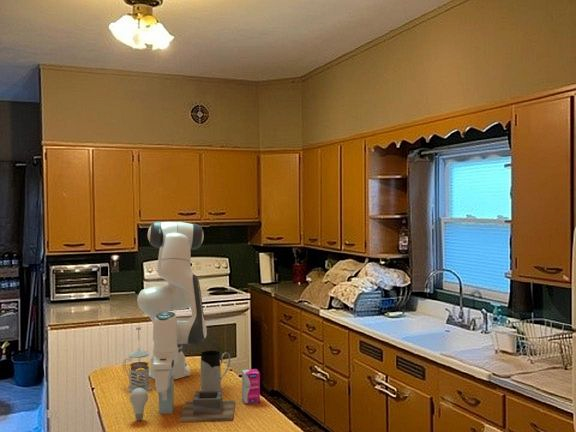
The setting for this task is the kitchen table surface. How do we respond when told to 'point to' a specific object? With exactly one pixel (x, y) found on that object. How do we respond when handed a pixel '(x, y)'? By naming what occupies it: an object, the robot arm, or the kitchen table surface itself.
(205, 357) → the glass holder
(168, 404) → the peg
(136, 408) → the lightbulb
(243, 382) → the supplement box
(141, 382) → the french press
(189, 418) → the socket
